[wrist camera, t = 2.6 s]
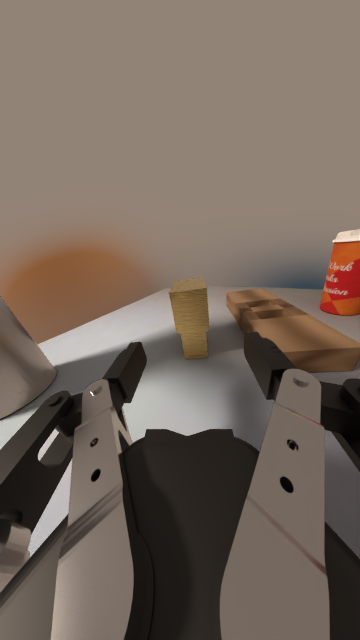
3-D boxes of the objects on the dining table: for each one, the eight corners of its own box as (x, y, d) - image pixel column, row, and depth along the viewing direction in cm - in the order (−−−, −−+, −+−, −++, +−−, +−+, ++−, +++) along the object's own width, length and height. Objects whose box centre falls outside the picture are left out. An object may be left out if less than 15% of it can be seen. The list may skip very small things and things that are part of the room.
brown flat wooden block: (269, 374, 17) (273, 352, 16) (226, 305, 39) (226, 292, 37) (352, 370, 16) (365, 346, 15) (260, 301, 37) (262, 288, 36)
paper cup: (309, 302, 33) (329, 233, 27) (358, 303, 29) (394, 223, 23) (317, 316, 27) (344, 233, 21) (379, 321, 23) (436, 219, 17)
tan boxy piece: (181, 360, 22) (169, 292, 17) (183, 335, 28) (174, 280, 23) (211, 358, 21) (206, 287, 16) (206, 333, 28) (202, 277, 23)
